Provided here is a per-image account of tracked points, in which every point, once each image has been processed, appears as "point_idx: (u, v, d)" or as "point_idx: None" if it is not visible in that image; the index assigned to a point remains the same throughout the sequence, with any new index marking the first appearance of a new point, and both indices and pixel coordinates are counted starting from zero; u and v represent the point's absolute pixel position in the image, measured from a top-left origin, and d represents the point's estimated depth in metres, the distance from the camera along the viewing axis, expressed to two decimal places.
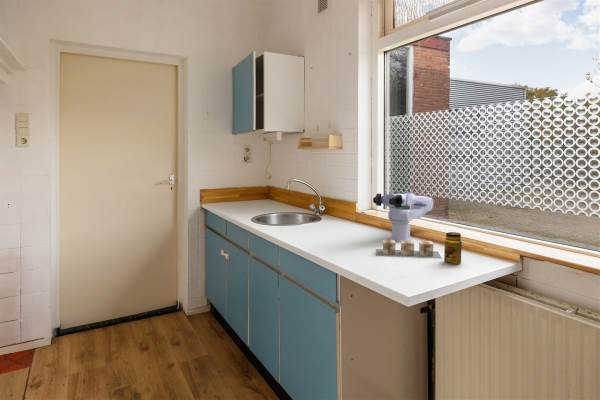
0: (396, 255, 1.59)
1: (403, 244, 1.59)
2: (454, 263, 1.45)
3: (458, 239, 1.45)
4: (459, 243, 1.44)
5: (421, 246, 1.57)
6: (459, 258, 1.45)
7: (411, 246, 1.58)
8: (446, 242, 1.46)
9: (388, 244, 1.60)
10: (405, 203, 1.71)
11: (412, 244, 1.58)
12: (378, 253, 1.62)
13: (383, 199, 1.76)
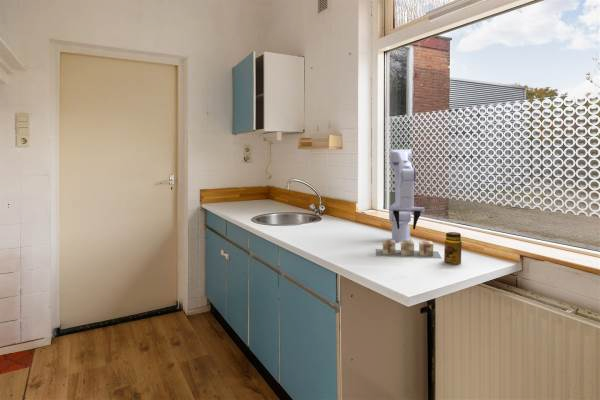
0: (396, 255, 1.59)
1: (403, 244, 1.59)
2: (454, 263, 1.45)
3: (458, 239, 1.45)
4: (459, 243, 1.44)
5: (421, 246, 1.57)
6: (459, 258, 1.45)
7: (411, 246, 1.58)
8: (446, 242, 1.46)
9: (388, 244, 1.60)
10: None
11: (412, 244, 1.58)
12: (378, 253, 1.62)
13: (399, 211, 1.63)
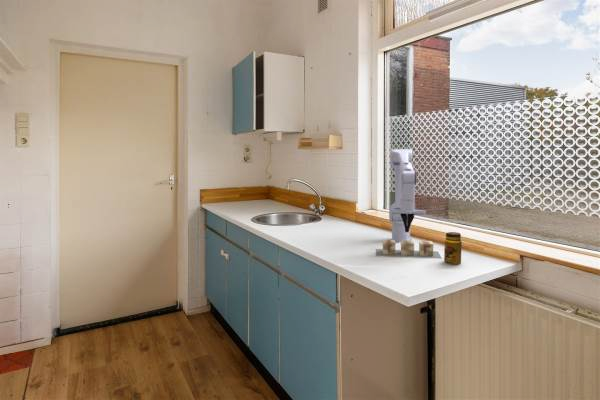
0: (396, 255, 1.59)
1: (403, 244, 1.59)
2: (454, 263, 1.45)
3: (458, 239, 1.45)
4: (459, 243, 1.44)
5: (421, 246, 1.57)
6: (459, 258, 1.45)
7: (411, 246, 1.58)
8: (446, 242, 1.46)
9: (388, 244, 1.60)
10: None
11: (412, 244, 1.58)
12: (378, 253, 1.62)
13: (400, 214, 1.61)
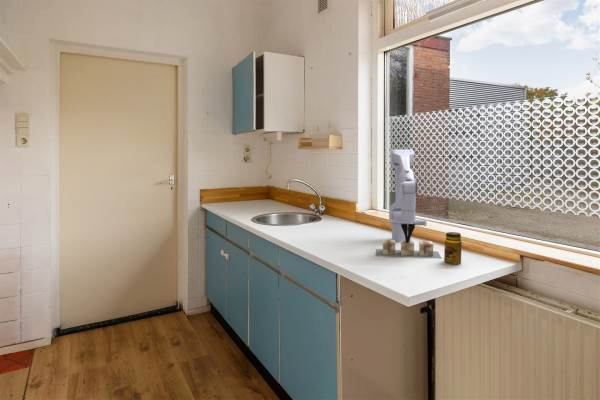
0: (396, 255, 1.59)
1: (403, 244, 1.59)
2: (454, 263, 1.45)
3: (458, 239, 1.45)
4: (459, 243, 1.44)
5: (421, 246, 1.57)
6: (459, 258, 1.45)
7: (411, 246, 1.58)
8: (446, 242, 1.46)
9: (388, 244, 1.60)
10: None
11: (412, 244, 1.58)
12: (378, 253, 1.62)
13: (400, 224, 1.60)
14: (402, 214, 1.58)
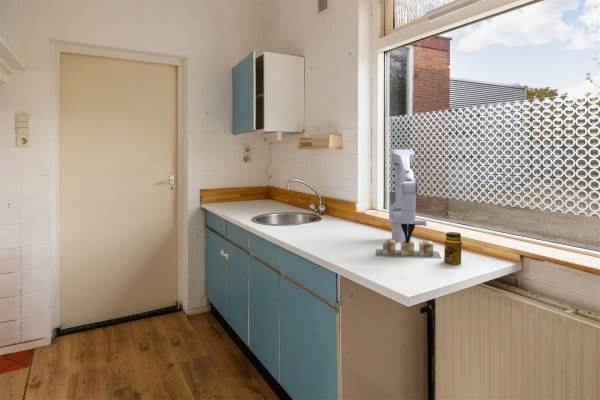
0: (396, 255, 1.59)
1: (403, 244, 1.59)
2: (454, 263, 1.45)
3: (458, 239, 1.45)
4: (459, 243, 1.44)
5: (421, 246, 1.57)
6: (459, 258, 1.45)
7: (411, 246, 1.58)
8: (446, 242, 1.46)
9: (388, 244, 1.60)
10: None
11: (412, 244, 1.58)
12: (378, 253, 1.62)
13: (400, 224, 1.60)
14: (402, 214, 1.58)
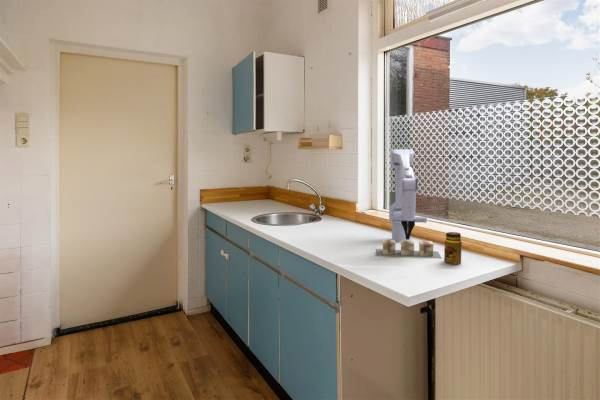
0: (396, 255, 1.59)
1: (403, 244, 1.59)
2: (454, 263, 1.45)
3: (458, 239, 1.45)
4: (459, 243, 1.44)
5: (421, 246, 1.57)
6: (459, 258, 1.45)
7: (411, 246, 1.58)
8: (446, 242, 1.46)
9: (388, 244, 1.60)
10: None
11: (412, 244, 1.58)
12: (378, 253, 1.62)
13: (400, 221, 1.60)
14: (402, 211, 1.58)
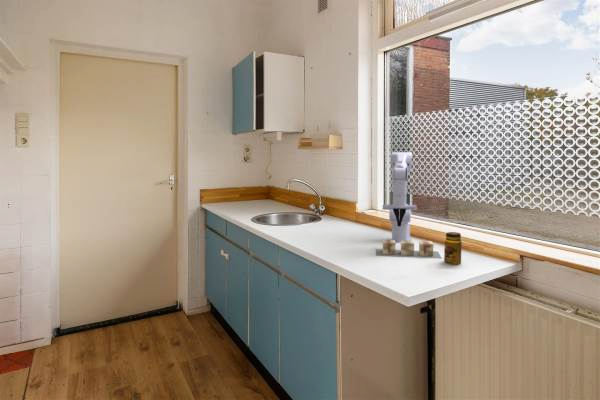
0: (396, 255, 1.59)
1: (403, 244, 1.59)
2: (454, 263, 1.45)
3: (458, 239, 1.45)
4: (459, 243, 1.44)
5: (421, 246, 1.57)
6: (459, 258, 1.45)
7: (411, 246, 1.58)
8: (446, 242, 1.46)
9: (388, 244, 1.60)
10: (416, 206, 1.68)
11: (412, 244, 1.58)
12: (378, 253, 1.62)
13: (392, 209, 1.69)
14: (394, 199, 1.67)
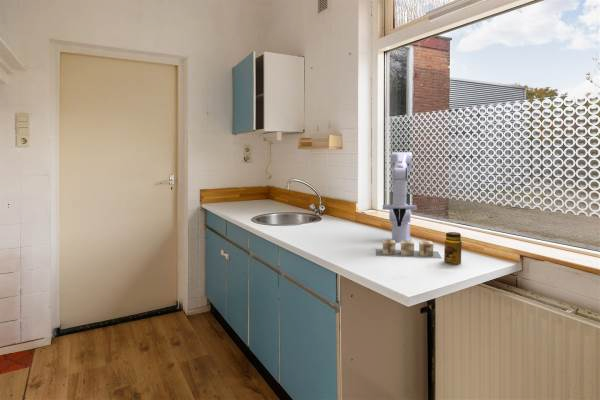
0: (396, 255, 1.59)
1: (403, 244, 1.59)
2: (454, 263, 1.45)
3: (458, 239, 1.45)
4: (459, 243, 1.44)
5: (421, 246, 1.57)
6: (459, 258, 1.45)
7: (411, 246, 1.58)
8: (446, 242, 1.46)
9: (388, 244, 1.60)
10: (416, 206, 1.68)
11: (412, 244, 1.58)
12: (378, 253, 1.62)
13: (392, 209, 1.69)
14: (394, 199, 1.67)
